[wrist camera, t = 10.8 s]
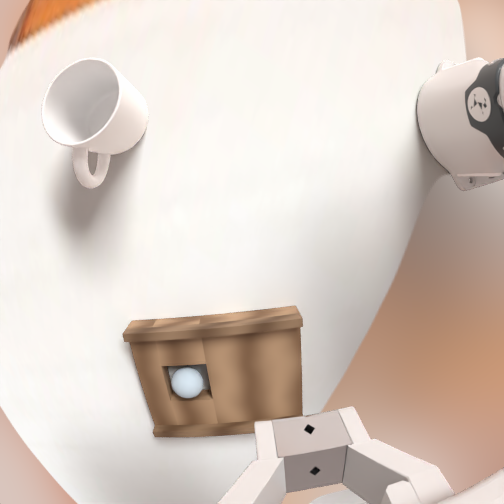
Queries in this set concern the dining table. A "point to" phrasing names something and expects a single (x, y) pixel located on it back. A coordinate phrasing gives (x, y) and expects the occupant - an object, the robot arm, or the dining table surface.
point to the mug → (93, 115)
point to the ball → (187, 382)
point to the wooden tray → (221, 370)
